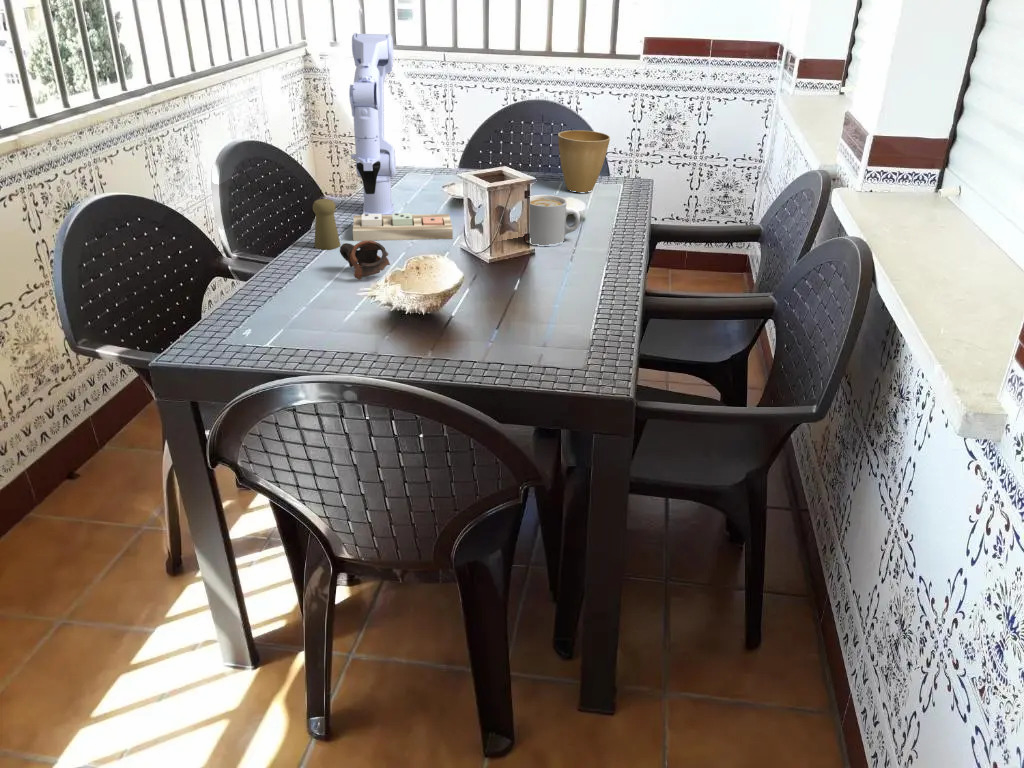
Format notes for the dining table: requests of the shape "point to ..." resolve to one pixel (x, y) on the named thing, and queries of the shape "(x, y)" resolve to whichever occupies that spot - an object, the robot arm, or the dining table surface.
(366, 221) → the two dot key
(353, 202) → the dining table surface
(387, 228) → the wooden puzzle board
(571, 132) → the plant pot
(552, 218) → the coffee mug
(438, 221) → the one dot key
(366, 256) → the pottery mug
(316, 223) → the cork
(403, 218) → the three dot key
